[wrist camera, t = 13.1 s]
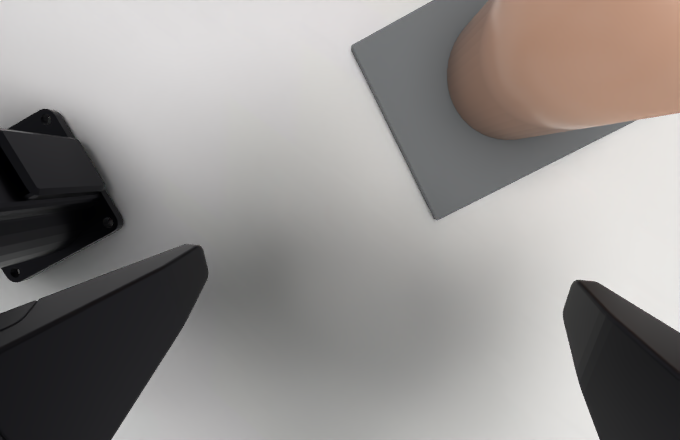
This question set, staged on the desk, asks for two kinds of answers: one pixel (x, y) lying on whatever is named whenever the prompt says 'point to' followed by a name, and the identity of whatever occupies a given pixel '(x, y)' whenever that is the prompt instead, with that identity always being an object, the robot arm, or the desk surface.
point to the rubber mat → (448, 112)
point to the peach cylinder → (565, 65)
